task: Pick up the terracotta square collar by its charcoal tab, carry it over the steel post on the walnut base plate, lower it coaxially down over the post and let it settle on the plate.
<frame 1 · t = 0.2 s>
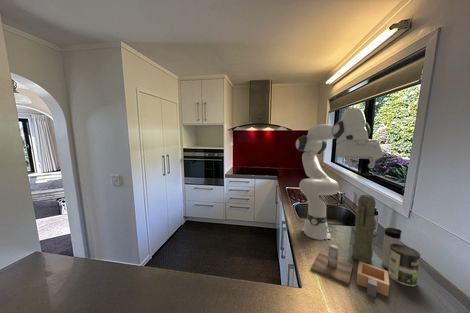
hand: (361, 167, 86), 52 cm above the worktop, tool tilted 20°, fingers open, 8 cm apart
collar: (371, 282, 84), on the worktop
coffee can: (401, 278, 87), on the worktop, touching travel mug
post base: (331, 269, 92), on the worktop
thermos: (361, 258, 102), on the worktop
travel mug: (389, 267, 95), on the worktop, touching coffee can
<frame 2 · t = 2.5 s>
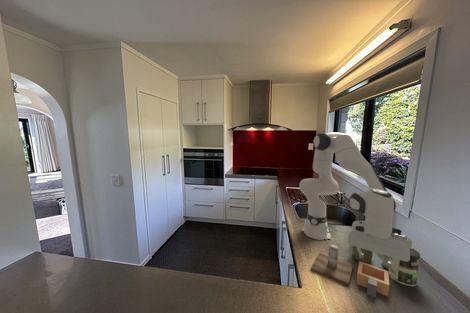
hand: (375, 261, 77), 14 cm above the worktop, tool pointing down, fingers open, 8 cm apart
nothing on the worktop moved.
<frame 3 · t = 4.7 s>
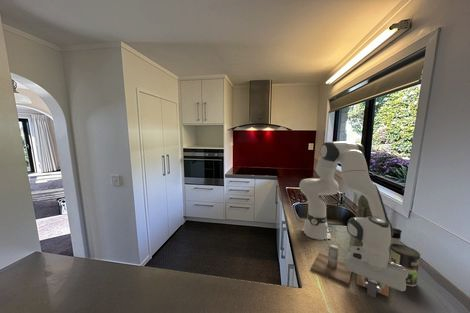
hand: (371, 288, 78), 2 cm above the worktop, tool pointing down, fingers closed on collar, 3 cm apart
collar: (371, 282, 84), on the worktop, touching gripper
everything else where it was.
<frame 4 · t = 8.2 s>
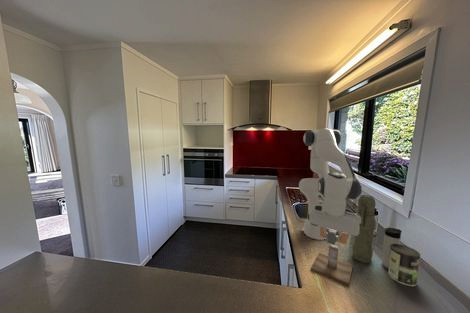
hand: (331, 237, 85), 19 cm above the worktop, tool pointing down, fingers closed on collar, 3 cm apart
collar: (334, 235, 91), point 17 cm above the worktop, touching gripper
everything else where it was.
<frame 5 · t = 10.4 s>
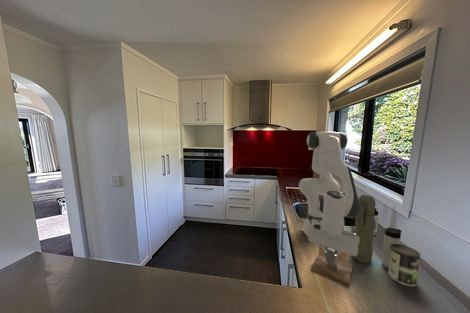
hand: (330, 256, 85), 10 cm above the worktop, tool pointing down, fingers closed on collar, 3 cm apart
collar: (333, 253, 91), point 8 cm above the worktop, touching gripper
everything else where it was.
when the fingers open (4 cm above the worktop, at t = 12.1 s): collar stays where it is, resting on post base.
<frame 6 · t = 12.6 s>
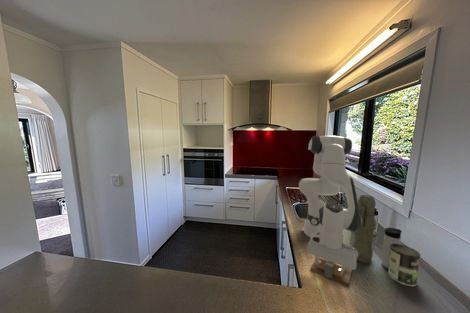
hand: (329, 269, 86), 4 cm above the worktop, tool pointing down, fingers open, 8 cm apart
collar: (332, 266, 92), point 1 cm above the worktop, touching post base
everything else where it was.
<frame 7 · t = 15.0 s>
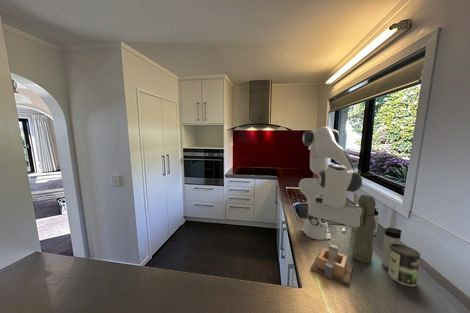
hand: (332, 230, 84), 23 cm above the worktop, tool pointing down, fingers open, 8 cm apart
coffee can: (401, 278, 87), on the worktop
travel mug: (389, 267, 95), on the worktop
everything else where it was.
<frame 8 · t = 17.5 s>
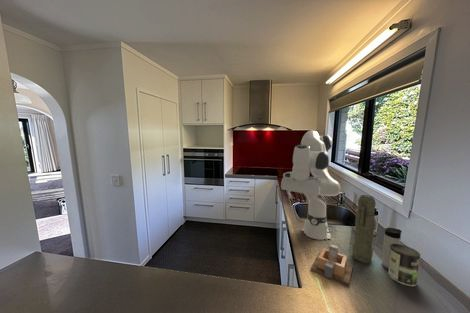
hand: (299, 200, 100), 31 cm above the worktop, tool pointing down, fingers open, 8 cm apart
coffee can: (401, 278, 87), on the worktop, touching travel mug
travel mug: (389, 267, 95), on the worktop, touching coffee can
everything else where it was.
at the end: collar 0.2 cm off-centre on the post base, point 1.5 cm above the post base's base; the gripper is holding nothing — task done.
